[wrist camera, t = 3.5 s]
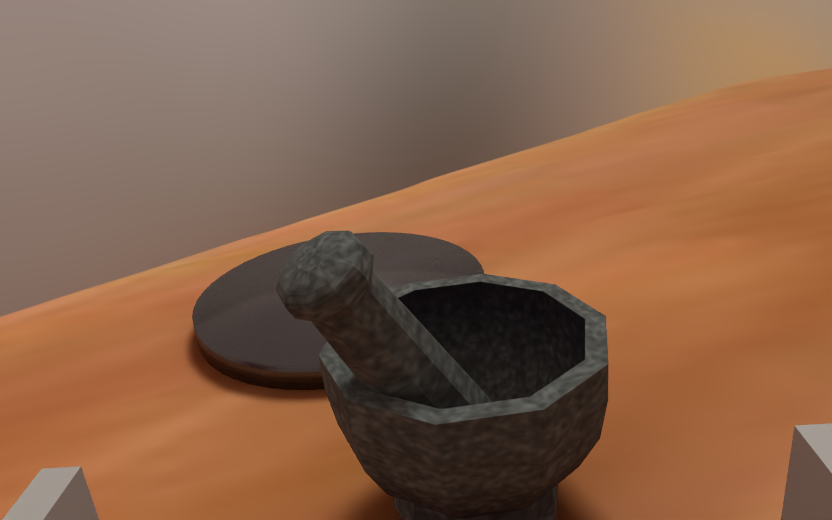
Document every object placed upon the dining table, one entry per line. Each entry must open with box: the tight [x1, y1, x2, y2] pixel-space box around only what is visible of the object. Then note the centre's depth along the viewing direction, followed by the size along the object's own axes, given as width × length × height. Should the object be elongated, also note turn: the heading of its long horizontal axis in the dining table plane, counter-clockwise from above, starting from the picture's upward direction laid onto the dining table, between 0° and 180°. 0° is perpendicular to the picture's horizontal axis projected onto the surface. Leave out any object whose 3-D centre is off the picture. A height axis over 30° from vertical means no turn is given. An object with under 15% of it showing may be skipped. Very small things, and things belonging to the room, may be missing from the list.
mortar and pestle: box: [276, 231, 608, 520], centre depth 24 cm, size 11×9×12 cm
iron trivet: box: [192, 232, 484, 389], centre depth 41 cm, size 17×17×2 cm
